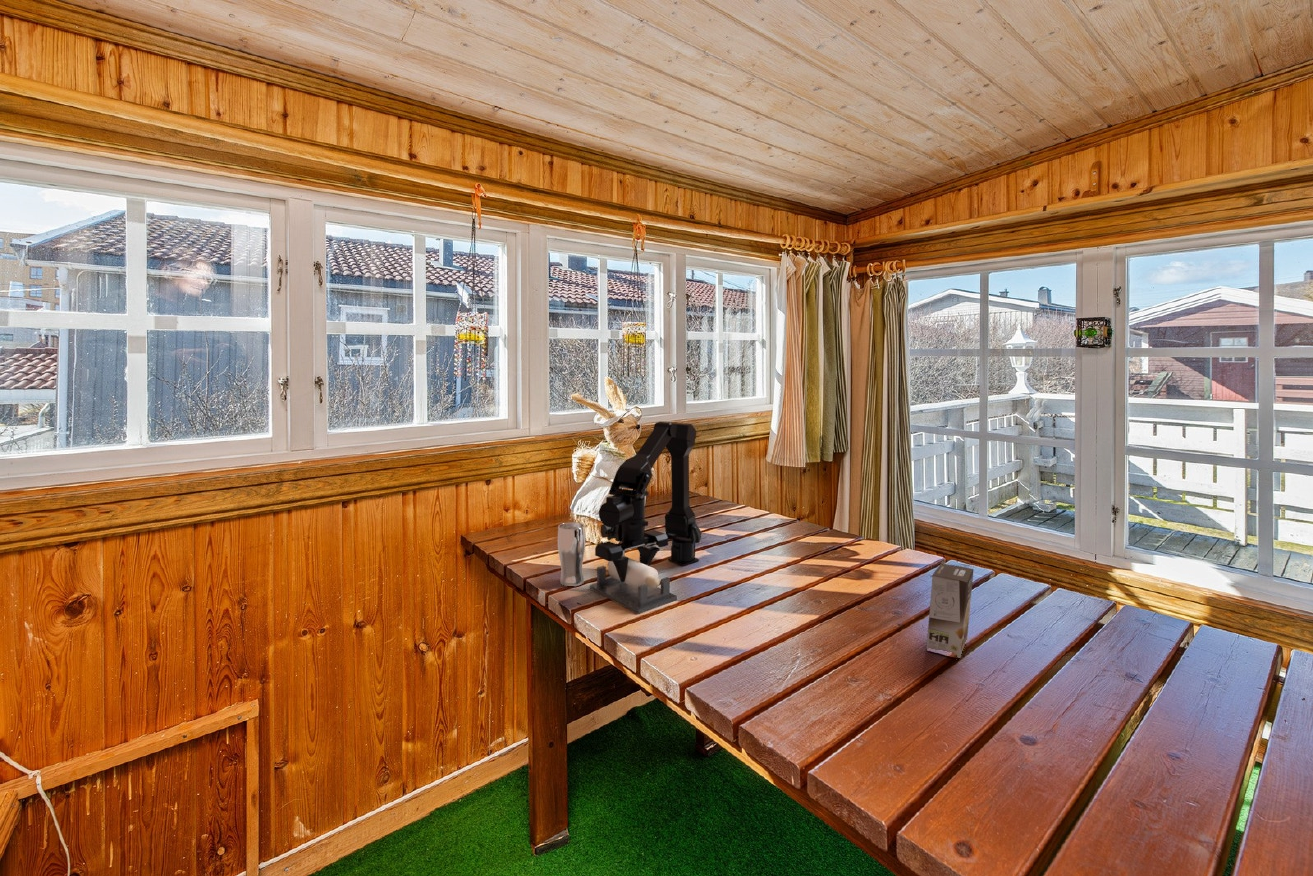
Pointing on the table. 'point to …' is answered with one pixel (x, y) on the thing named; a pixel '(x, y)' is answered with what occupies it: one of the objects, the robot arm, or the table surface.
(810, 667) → the table surface
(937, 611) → the coffee box
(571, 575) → the beer glass
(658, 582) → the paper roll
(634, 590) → the roll stand
